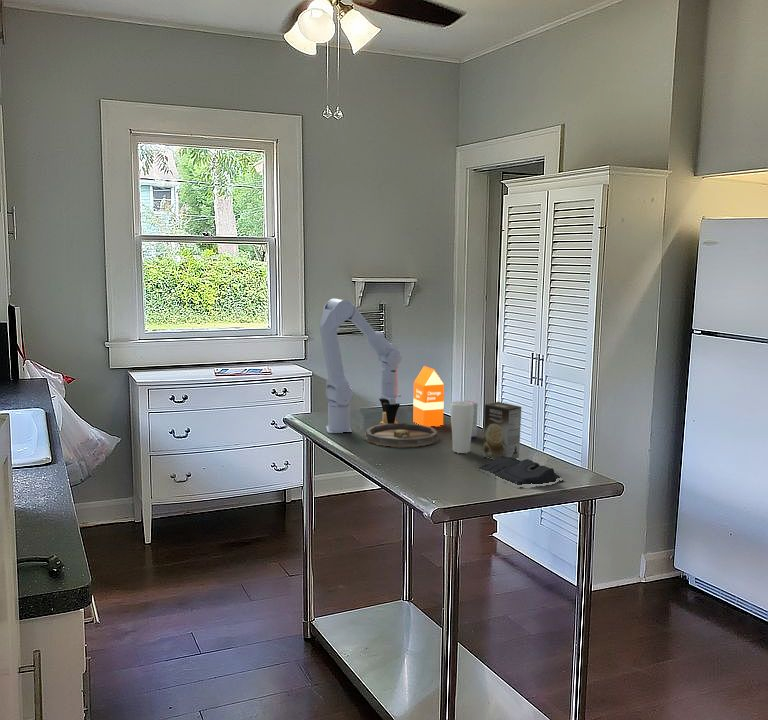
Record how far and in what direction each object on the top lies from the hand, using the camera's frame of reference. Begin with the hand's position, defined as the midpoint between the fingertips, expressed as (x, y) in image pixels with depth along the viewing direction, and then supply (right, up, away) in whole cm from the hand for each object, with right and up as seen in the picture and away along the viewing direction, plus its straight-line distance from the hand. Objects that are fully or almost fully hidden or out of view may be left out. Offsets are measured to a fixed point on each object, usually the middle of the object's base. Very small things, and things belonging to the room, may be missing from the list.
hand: (389, 420), depth 271 cm
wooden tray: (+4, -4, -18) cm, 19 cm away
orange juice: (+14, -2, +3) cm, 14 cm away
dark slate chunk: (+35, -11, -59) cm, 69 cm away
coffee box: (+33, -8, -42) cm, 54 cm away
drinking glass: (+22, -7, -35) cm, 41 cm away
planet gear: (0, -2, 0) cm, 2 cm away
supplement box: (+25, -4, -15) cm, 29 cm away
